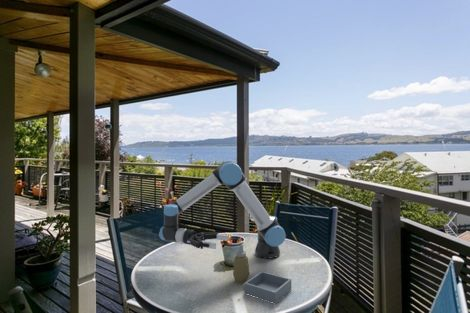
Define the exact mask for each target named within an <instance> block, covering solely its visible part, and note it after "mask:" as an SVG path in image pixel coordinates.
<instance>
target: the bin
mask: <svg viewBox="0 0 470 313" xmlns="http://www.w3.org/2000/svg"><path fill="white" fill-rule="evenodd" d="M243 287H244V288H243V290H244V291H243V294H244V293H245V294H244V295H246V294H249V295H252V296H255V297H258V298H261V299H263V300H262V301H264V300H267V301H269V302H268V303H270V302H273V303H276V302H277V303H279V300H280V299H281V298H282V297H283V296H284V297H285V296H286V295H288V294H289V293H290V292H291V291H292V278H288V277H284V276H281V275H277V274H274V273H269V272H266V271H260V272H259V273H257V274H256V275H253V276H252V277H251V278H249V279H248V281H247V282H245V283H244V284H243ZM290 290H291V291H290ZM289 291H290V292H289ZM249 295H248V296H249ZM252 296H251V297H252ZM255 297H254V298H255ZM284 297H283V298H284ZM258 298H257V299H258ZM283 298H282V299H283ZM261 299H260V300H261ZM282 299H281V300H282ZM267 301H266V302H267ZM273 303H272V304H273ZM277 303H276V304H277Z"/></svg>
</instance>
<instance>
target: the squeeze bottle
mask: <svg viewBox="0 0 470 313" xmlns="http://www.w3.org/2000/svg"><path fill="white" fill-rule="evenodd" d="M249 265H250V264H249V257H248V256H247V251H244V246H243V244H239V248H238V251H236V256H234V260H233V272H232V275H233V278H234V281H235V283H237V284H239V283H245V282H247V281H248V280H249V279H250V274H251V273H250V266H249Z"/></svg>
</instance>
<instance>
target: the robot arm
mask: <svg viewBox="0 0 470 313" xmlns="http://www.w3.org/2000/svg"><path fill="white" fill-rule="evenodd" d="M210 173H211V174H210V175H208V176H207V177H206V178H205V179H203V180H202V181H201V182H199V183H198V184H195V186H194V187H192V188H191V189H190V190H188V191H187V192H185V193H184V194H183V195H182V196H180V197H179V198H177V199H176V200H174V201H173V202H171V203H169V204H165V205H164V207H163V226H161V228H159V232H158V237H159V238H160V239H161V240H163V241H166V242H171V243H178V244H180V245H182V244H184V245H189V246H192V247H194V248H196V249H200V250H203V249H204V248H207V249H213V250H216V249H217V243H216V242H213V241H212V242H210V241H206V240H217V241H225V242H228V241H229V235H227V234H219V232H218V231H217V232H202V231H200V232H198V233H196V231H195V230H194V229H187V228H183V227H182V228H181V227H179V215H180V214H181V213H183V212H184V211H185V210H187V209H188V208H189V207H191V206H192V205H194V204H195V203H197V202H198V201H199V200H201V199H202V198H203V197H204V196H206V195H207V194H209V193H210V192H211V191H213V190H214V189H216V188H217V187H218V186H222V185H225V187H227V189H228V191H231V192H233V193H234V194H235V196H236V197H237V199H238V200H239V202H240V203H241V204H242V206H243V207H244V208H245V210H246V211H247V213H248V214H249V215H250V217H251V219H252V220H253V221H254V222H255V224H256V225H257V227H256V229H257V242H256V246H255V250H254V255H255V254H256V255H257V256H256V255H255V256H256V257H258V256H260V257H259V258H261V257H266V258H265V259H270V258H269V257H275V256H278V255H279V254H280V255H281V250H280V246H281V245H282V244H283V243H284V242H285V240H286V236H287V234H286V232H285V229H284V228H283V227H282V226H281V225H280V223H279V222H278V217H277V216H274V215H270V214H269V213H268V212H267V210H266V209H265V206H264V205H263V204H262V203H261V202H260V200H259V199H258V197H257V196H256V194H255V193H254V192H253V190H252V188H251V187H250V186H249V185H248V183H247V177H246V176H245V174H244V173H243V170H242V168H241V167H240V166H239V164H237V163H235V162H233V161H229V160H227V161H224V162H221V164H220V165H219V166H218V167H216V168H215V169H214V170H213V171H211V172H210ZM278 257H279V256H278Z"/></svg>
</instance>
